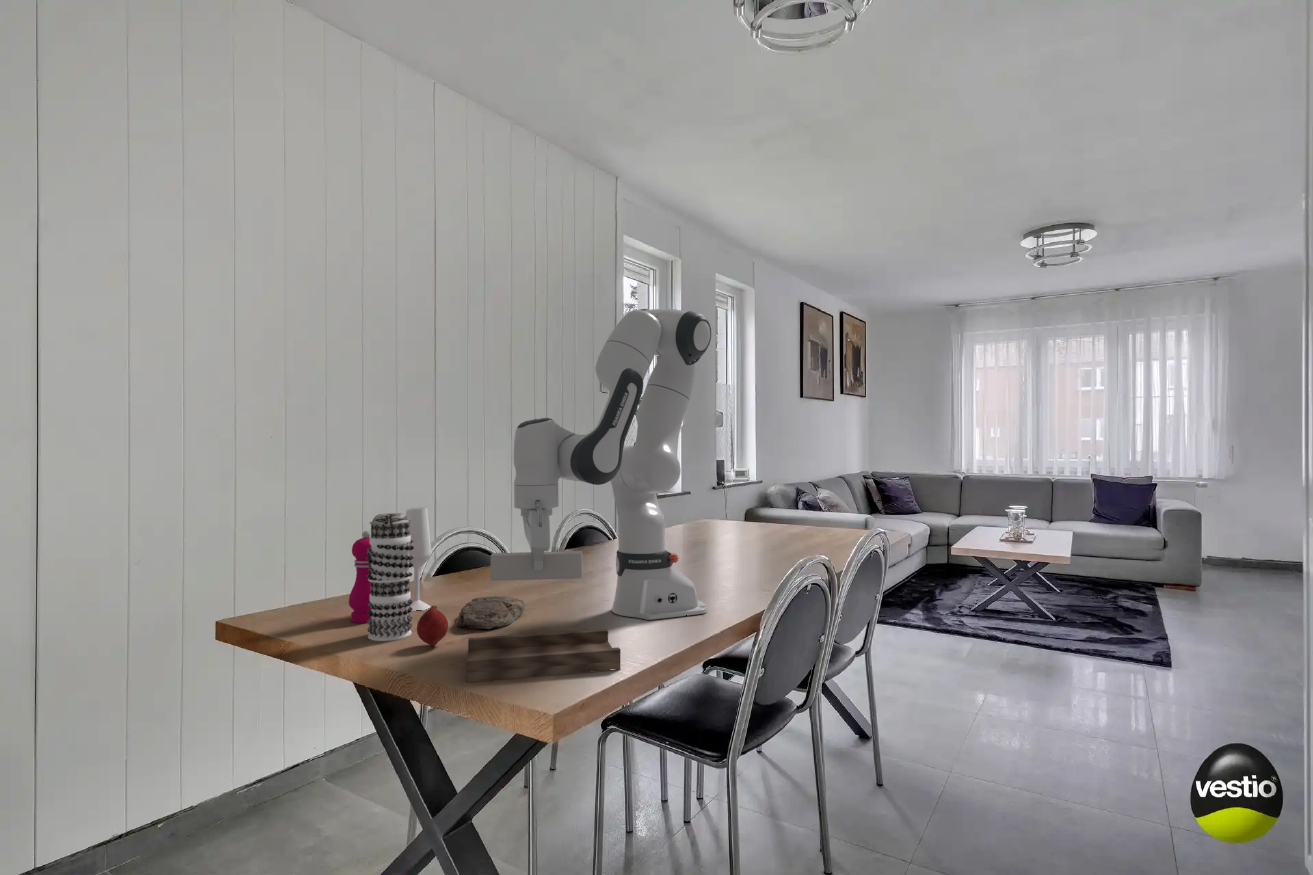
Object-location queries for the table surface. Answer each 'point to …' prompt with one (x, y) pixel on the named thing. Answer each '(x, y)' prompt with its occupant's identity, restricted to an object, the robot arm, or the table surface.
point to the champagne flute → (419, 549)
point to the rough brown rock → (490, 612)
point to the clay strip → (523, 569)
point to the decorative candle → (389, 577)
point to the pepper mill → (361, 581)
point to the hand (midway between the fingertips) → (537, 567)
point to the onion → (432, 626)
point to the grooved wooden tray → (540, 655)
